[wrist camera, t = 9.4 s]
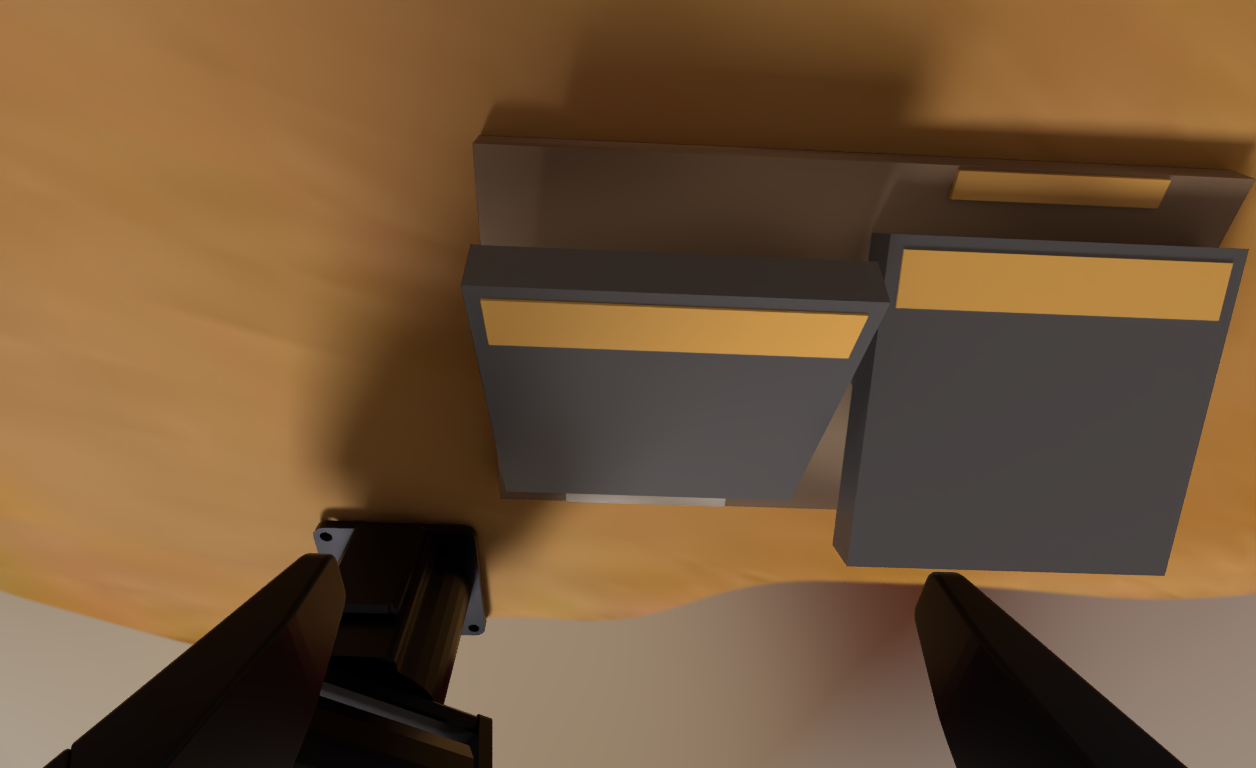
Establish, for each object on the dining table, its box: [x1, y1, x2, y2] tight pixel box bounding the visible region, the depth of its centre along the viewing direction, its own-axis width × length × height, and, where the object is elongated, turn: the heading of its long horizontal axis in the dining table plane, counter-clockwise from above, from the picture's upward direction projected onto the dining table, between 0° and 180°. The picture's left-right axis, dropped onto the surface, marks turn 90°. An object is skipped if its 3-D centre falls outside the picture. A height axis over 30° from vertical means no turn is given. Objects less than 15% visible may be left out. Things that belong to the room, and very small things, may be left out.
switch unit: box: [473, 135, 1256, 509], centre depth 22 cm, size 13×22×2 cm, turn 87°
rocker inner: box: [461, 245, 891, 501], centre depth 20 cm, size 10×10×2 cm
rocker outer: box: [833, 233, 1249, 576], centre depth 20 cm, size 10×10×2 cm
